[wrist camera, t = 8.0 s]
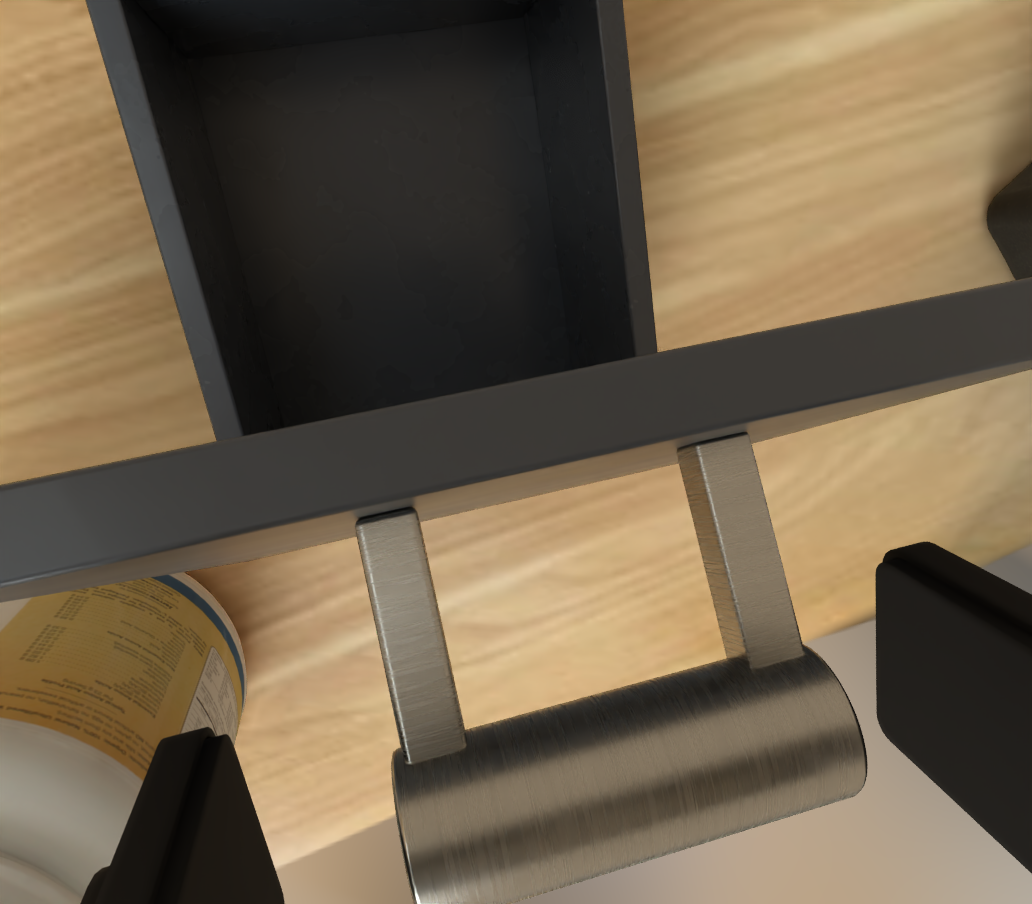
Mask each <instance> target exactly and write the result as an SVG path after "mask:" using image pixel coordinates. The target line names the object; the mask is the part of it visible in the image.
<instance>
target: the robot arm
mask: <svg viewBox="0 0 1032 904" xmlns="http://www.w3.org/2000/svg"><path fill="white" fill-rule="evenodd" d="M876 679H877V680H876V686H877V687H876V690H877V691H876V692H877V693H876V694H877V718H878V721H879V724H880V727H881V729H882V731H883V733H884V734H885V736H886V737H887V738H888V739H889V740H890V741H891V742H892V743H893V744H894V745H895V746H896V747H897V748H898V749H899V750H900V751H901V752H902V753H903V754H905V755H906V756H907V757H908V758H909V759H910V760H911V761H912V762H913V763H914V764H915V765H916V766H918V768H919V769H921V770H922V771H923V772H924V773H925V774H926V775H927V776H928V777H929V778H930V779H931V780H932V781H933V782H934V783H936V784H937V785H938V786H939V787H940V788H941V789H942V790H943V791H944V792H945V793H946V794H947V795H948V796H950V797H951V798H952V799H953V800H954V801H955V802H956V803H957V804H958V805H959V806H960V807H961V808H962V809H963V810H964V811H965V812H967V813H968V814H969V815H970V816H971V817H972V818H973V819H974V820H975V821H976V822H977V823H978V824H980V826H981V827H983V828H984V829H985V830H986V831H987V832H988V833H989V834H990V835H991V836H992V837H993V838H994V839H995V840H997V841H998V842H999V843H1000V844H1001V845H1002V846H1003V847H1004V848H1005V849H1006V850H1007V851H1008V852H1009V853H1010V854H1012V855H1013V856H1014V857H1015V858H1016V859H1017V860H1018V861H1019V862H1020V863H1021V864H1022V865H1023V866H1024V867H1025V868H1026V869H1028V870H1029V871H1030V872H1031V873H1032V595H1031V594H1029V593H1028V592H1025V591H1023V590H1022V589H1020V588H1018V587H1016V586H1014V585H1012V584H1010V583H1008V582H1007V581H1005V580H1003V579H1001V578H999V577H997V576H995V575H993V574H991V573H989V572H987V571H985V570H984V569H982V568H980V567H978V566H976V565H974V564H972V563H970V562H968V561H966V560H964V559H962V558H961V557H959V556H957V555H955V554H953V553H951V552H949V551H947V550H945V549H943V548H941V547H939V546H937V545H936V544H933V543H930V542H920V543H916V544H912V545H909V546H905V547H901V548H897V549H893V550H890V551H888V552H887V553H886V554H885V556H884V558H883V563H880V564H879V565H878V567H877V569H876ZM80 904H284V897H283V892H282V889H281V886H280V882H279V880H278V877H277V874H276V871H275V868H274V865H273V862H272V859H271V856H270V853H269V850H268V847H267V844H266V841H265V838H264V835H263V832H262V829H261V826H260V823H259V820H258V817H257V814H256V811H255V808H254V805H253V802H252V799H251V796H250V793H249V790H248V787H247V784H246V781H245V778H244V775H243V772H242V769H241V766H240V763H239V760H238V757H237V754H236V751H235V748H234V745H233V743H232V740H231V738H230V737H229V735H227V734H223V735H219V736H216V735H215V733H214V731H213V730H212V729H211V728H210V727H204V728H201V729H197V730H193V731H189V732H185V733H181V734H177V735H173V736H170V737H166V738H163V739H161V740H160V742H159V744H158V746H157V748H156V751H155V753H154V756H153V758H152V761H151V763H150V766H149V768H148V771H147V773H146V776H145V778H144V781H143V783H142V786H141V788H140V791H139V793H138V796H137V798H136V801H135V803H134V806H133V809H132V811H131V814H130V816H129V819H128V821H127V824H126V826H125V829H124V831H123V834H122V836H121V839H120V841H119V844H118V846H117V849H116V851H115V854H114V856H113V859H112V861H111V864H110V866H107V867H104V868H101V869H100V870H99V871H98V872H97V873H95V874H94V876H93V878H92V879H91V881H90V883H89V885H88V886H87V889H86V891H85V894H84V896H83V898H82V901H81V903H80Z"/></svg>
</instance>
